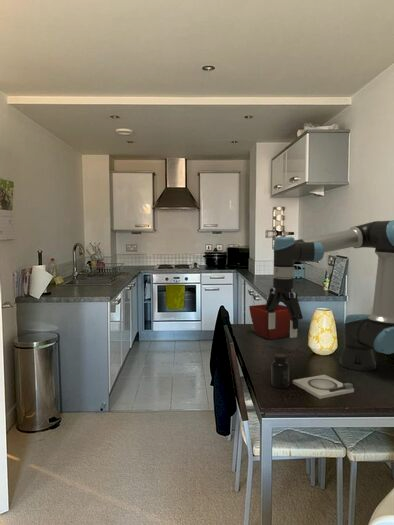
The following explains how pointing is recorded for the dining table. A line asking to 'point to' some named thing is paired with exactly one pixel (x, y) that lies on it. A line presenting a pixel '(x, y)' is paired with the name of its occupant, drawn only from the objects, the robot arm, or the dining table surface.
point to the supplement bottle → (280, 371)
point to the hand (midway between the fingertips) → (282, 332)
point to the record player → (323, 386)
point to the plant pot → (261, 321)
